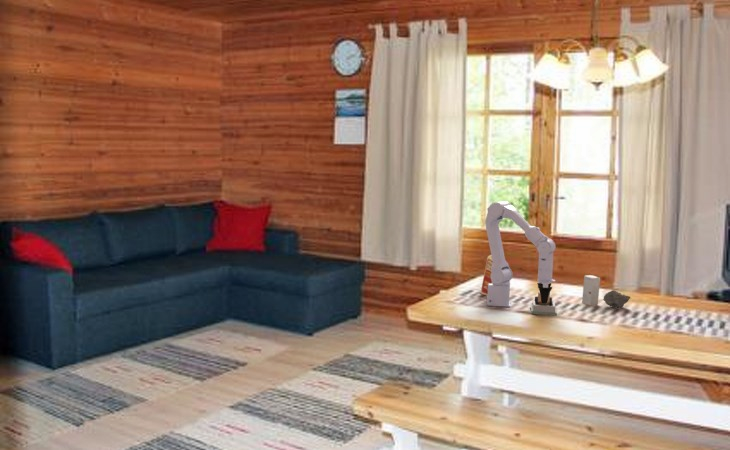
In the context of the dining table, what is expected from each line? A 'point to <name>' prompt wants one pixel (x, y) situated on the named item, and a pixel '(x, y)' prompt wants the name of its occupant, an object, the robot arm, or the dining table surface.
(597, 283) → the skincare box
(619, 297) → the fossil
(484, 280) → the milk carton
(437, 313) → the dining table surface
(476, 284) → the dining table surface
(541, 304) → the spout can
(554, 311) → the grey green open box
